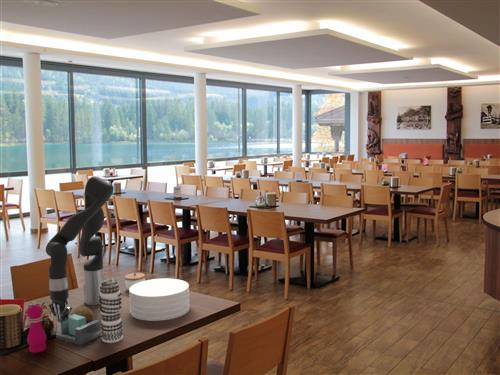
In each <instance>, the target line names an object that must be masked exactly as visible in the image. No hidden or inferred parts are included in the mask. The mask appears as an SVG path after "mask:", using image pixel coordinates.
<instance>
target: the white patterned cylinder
mask: <svg viewBox="0 0 500 375" xmlns="http://www.w3.org/2000/svg"><path fill="white" fill-rule="evenodd" d="M99 286H100V294H99V296H98V297H99V302H100V304H98V305H99V311H100V314H101V322H100V330H101V341H102V342H103V343H109V344H111V343H118V342H120V341H122V340H123V338H124V336H123V328H122V327H123V322H122V317H121V312H122V307H123V306H121V304H122V297H121V295H122V292H121V291H120V282H119V281H118V280H117V279H116V278H115V279H114V278H107V279H104V280H103V281H102V283H101V284H100V285H99ZM100 296H101V297H100Z"/></svg>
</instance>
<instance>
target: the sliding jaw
mask: <svg viewBox="0 0 500 375" xmlns="http://www.w3.org/2000/svg"><path fill="white" fill-rule="evenodd" d="M74 315H78V314H72V315H71V314H69V315H68V316H67V317H65V318H62V319H59V320H58V319H57V320H56V328H57V332H58V333H61V334H63V333H65V332H68V331H69V321H68V318H69V317H71V316H74Z"/></svg>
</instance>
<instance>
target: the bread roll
mask: <svg viewBox="0 0 500 375" xmlns="http://www.w3.org/2000/svg"><path fill="white" fill-rule="evenodd" d="M72 314H78V315H79V316H83V317H86V323H87V322H88V323H90V322H92V320H93V318H94V313H93V311H92V310H91V308H89V307H86V306H83V305H82V306H78V307H76V308H75V309H74V310H73V311H72V312H70V315H72Z"/></svg>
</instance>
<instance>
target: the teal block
mask: <svg viewBox="0 0 500 375" xmlns="http://www.w3.org/2000/svg"><path fill="white" fill-rule="evenodd" d="M68 321H69V334H73V335H75V328H78V327H80V326H83V325H85V324H87V322H86V317H83V316H79V315H74V316H71V317H69V318H68Z"/></svg>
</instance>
